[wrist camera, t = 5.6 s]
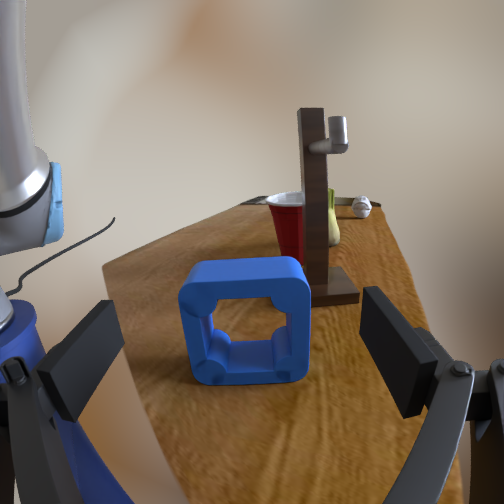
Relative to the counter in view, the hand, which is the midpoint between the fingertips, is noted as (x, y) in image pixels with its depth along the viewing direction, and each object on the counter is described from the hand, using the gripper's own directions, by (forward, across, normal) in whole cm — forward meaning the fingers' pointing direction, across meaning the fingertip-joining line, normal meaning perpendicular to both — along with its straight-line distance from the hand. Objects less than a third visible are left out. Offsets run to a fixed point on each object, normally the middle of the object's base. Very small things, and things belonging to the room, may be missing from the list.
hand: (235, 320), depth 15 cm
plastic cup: (+40, +8, -11) cm, 42 cm away
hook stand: (+22, +9, -11) cm, 26 cm away
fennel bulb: (+49, +16, -11) cm, 52 cm away
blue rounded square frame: (+10, 0, -11) cm, 15 cm away
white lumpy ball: (+75, +32, -11) cm, 82 cm away
